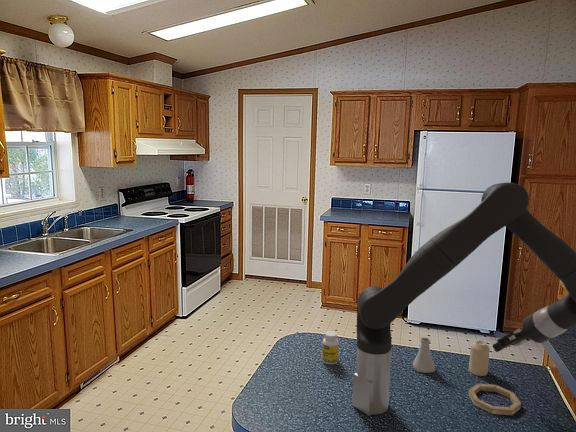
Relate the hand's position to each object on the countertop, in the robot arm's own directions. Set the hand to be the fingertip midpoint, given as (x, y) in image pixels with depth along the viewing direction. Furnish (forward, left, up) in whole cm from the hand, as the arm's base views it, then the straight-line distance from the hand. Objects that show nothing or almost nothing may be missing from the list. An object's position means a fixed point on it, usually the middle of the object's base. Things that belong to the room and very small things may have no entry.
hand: (504, 345), depth 127 cm
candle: (+2, +8, -13) cm, 15 cm away
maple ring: (-10, -3, -13) cm, 16 cm away
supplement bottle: (-31, +42, -13) cm, 54 cm away
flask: (-10, +20, -13) cm, 26 cm away
